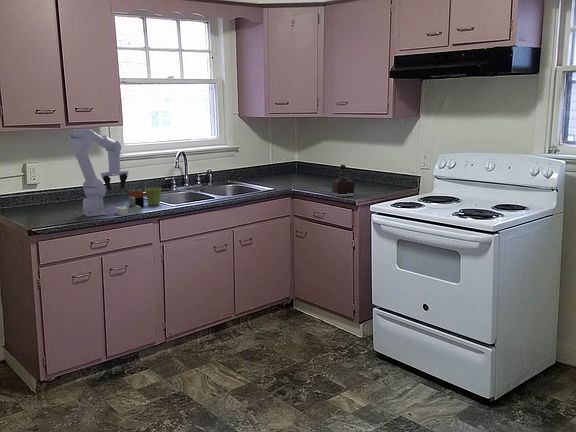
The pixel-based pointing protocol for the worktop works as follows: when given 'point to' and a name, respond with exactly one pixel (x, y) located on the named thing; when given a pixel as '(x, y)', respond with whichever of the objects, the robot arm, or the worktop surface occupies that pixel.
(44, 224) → the worktop surface
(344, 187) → the brown bottle
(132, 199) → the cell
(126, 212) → the charger
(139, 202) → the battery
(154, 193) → the plant pot
